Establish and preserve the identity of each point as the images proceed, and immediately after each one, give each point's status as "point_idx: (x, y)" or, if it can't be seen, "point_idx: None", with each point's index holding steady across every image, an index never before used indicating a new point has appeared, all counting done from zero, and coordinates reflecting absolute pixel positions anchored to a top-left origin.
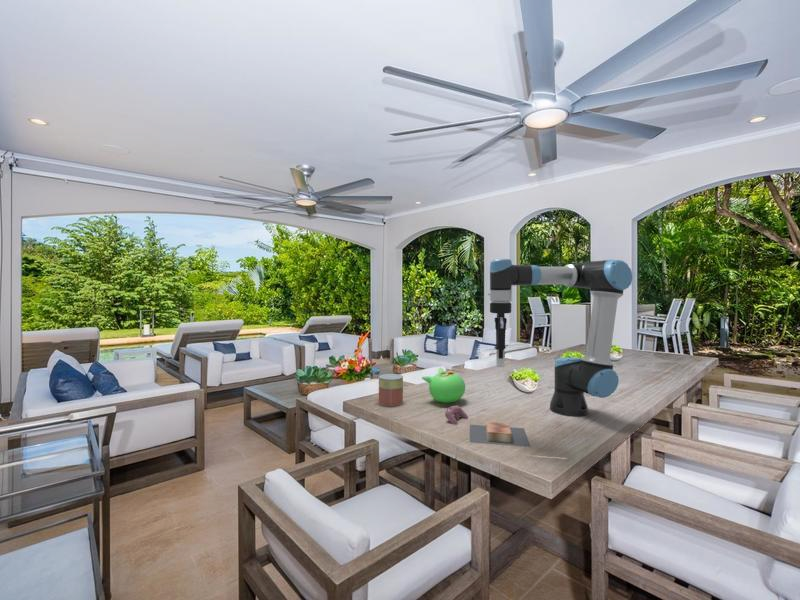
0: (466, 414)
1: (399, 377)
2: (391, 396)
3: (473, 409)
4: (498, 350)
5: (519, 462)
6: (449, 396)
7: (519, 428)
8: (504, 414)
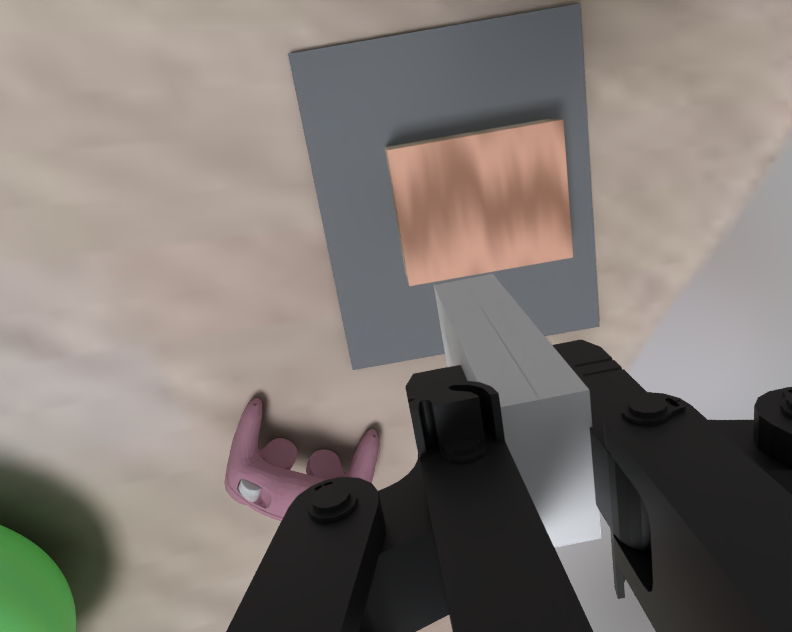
0: (251, 416)
1: None
2: None
3: (46, 399)
4: (588, 492)
5: (760, 62)
6: (55, 576)
7: (304, 83)
8: (41, 201)
